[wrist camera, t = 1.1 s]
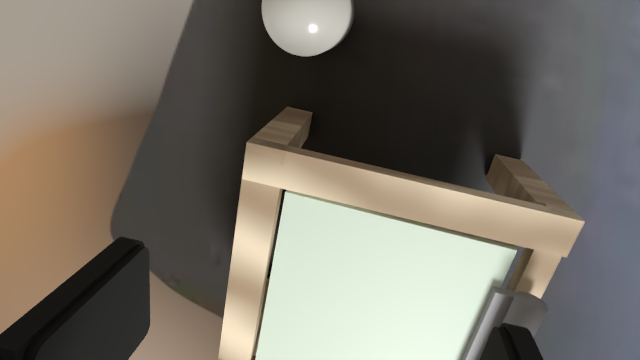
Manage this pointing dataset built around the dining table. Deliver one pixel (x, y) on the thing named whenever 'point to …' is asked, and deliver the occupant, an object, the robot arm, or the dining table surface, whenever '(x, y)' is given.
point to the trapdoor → (384, 288)
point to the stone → (307, 24)
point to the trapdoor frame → (386, 197)
